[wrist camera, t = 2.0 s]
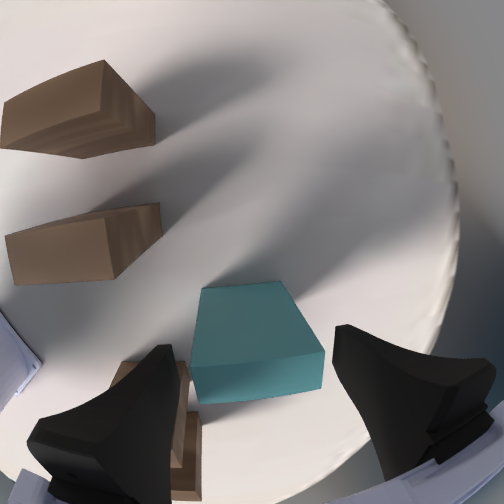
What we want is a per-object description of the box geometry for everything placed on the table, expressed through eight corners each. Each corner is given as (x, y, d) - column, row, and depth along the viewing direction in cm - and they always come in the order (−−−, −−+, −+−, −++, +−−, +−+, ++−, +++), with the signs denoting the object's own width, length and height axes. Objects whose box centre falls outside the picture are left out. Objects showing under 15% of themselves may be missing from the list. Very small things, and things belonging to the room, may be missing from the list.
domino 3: (189, 381, 18) (181, 468, 11) (129, 381, 18) (101, 459, 10) (184, 361, 18) (172, 449, 10) (121, 361, 17) (86, 439, 10)
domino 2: (162, 236, 16) (114, 279, 8) (91, 243, 15) (15, 285, 7) (159, 202, 15) (104, 217, 7) (87, 213, 15) (4, 235, 7)
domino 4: (202, 425, 20) (201, 501, 12) (148, 425, 19) (134, 496, 11) (197, 411, 19) (195, 491, 11) (141, 411, 19) (123, 484, 11)
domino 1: (155, 145, 14) (100, 110, 7) (83, 159, 14) (-1, 148, 6) (154, 113, 14) (104, 59, 6) (83, 129, 13) (4, 102, 6)
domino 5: (281, 309, 18) (321, 388, 10) (205, 316, 17) (199, 404, 9) (280, 281, 17) (325, 350, 9) (201, 288, 17) (189, 367, 9)
